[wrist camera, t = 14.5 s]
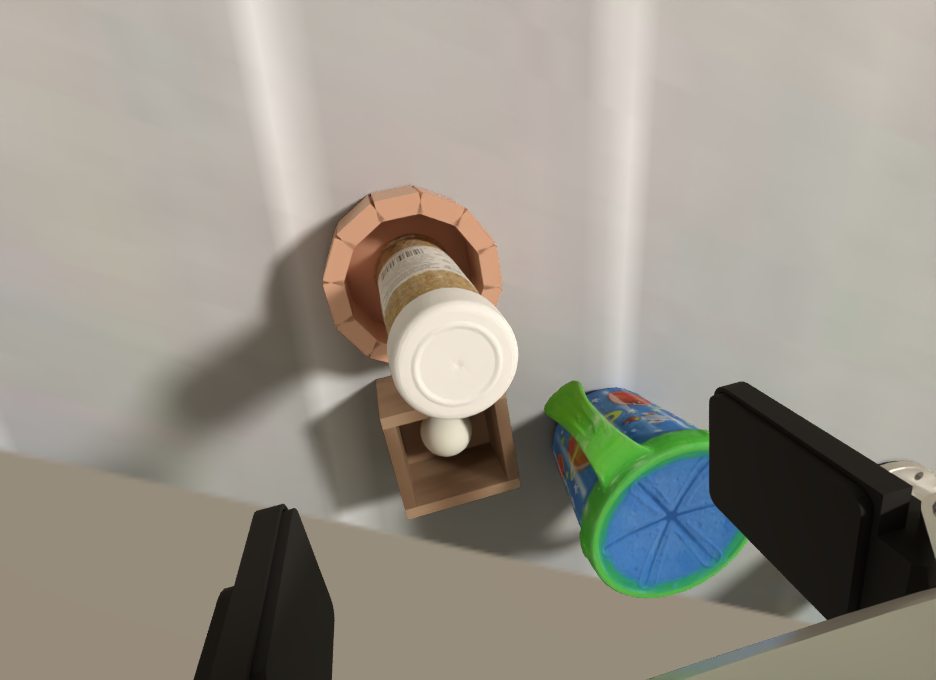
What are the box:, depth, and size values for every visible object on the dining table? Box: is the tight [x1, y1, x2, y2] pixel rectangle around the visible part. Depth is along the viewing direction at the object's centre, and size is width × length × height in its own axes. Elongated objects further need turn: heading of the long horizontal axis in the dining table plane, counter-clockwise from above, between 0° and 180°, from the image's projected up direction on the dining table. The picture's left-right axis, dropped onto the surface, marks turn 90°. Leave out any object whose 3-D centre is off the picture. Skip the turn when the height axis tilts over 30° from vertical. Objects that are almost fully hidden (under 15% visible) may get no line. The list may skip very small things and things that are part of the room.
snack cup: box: [544, 381, 748, 598], centre depth 33 cm, size 16×10×10 cm
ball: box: [420, 417, 472, 457], centre depth 33 cm, size 3×3×3 cm
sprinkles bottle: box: [374, 234, 518, 419], centre depth 24 cm, size 5×5×13 cm
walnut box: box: [376, 376, 521, 519], centre depth 32 cm, size 7×7×5 cm
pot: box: [323, 185, 502, 363], centre depth 29 cm, size 9×9×4 cm
